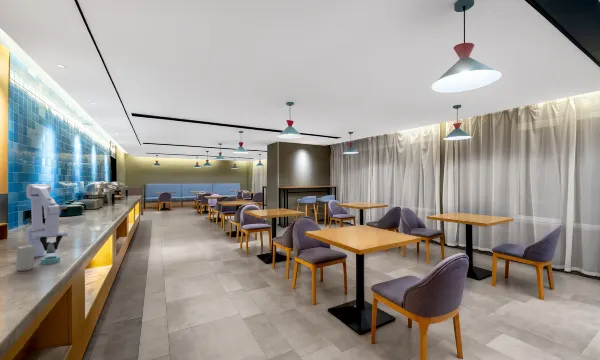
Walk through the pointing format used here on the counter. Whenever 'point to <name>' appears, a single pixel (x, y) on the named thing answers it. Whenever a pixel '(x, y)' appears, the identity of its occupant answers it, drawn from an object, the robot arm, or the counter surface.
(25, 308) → the counter surface
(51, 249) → the steel peg
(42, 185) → the robot arm
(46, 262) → the teal bead ring
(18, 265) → the beverage can
